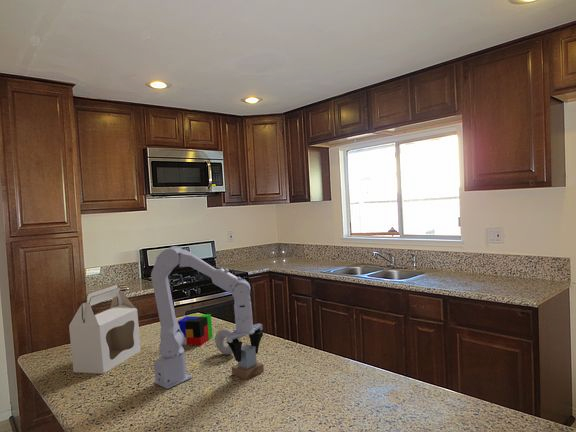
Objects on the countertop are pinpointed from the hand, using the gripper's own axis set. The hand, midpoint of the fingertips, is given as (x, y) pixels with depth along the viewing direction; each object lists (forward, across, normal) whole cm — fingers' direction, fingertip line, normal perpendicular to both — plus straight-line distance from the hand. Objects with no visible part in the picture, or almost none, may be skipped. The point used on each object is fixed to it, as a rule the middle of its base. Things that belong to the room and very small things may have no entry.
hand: (246, 356), depth 134 cm
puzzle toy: (+6, +10, +43) cm, 45 cm away
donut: (+6, +7, +19) cm, 21 cm away
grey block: (+3, 0, 0) cm, 3 cm away
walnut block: (+6, 0, 0) cm, 6 cm away
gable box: (+6, -22, +55) cm, 60 cm away
